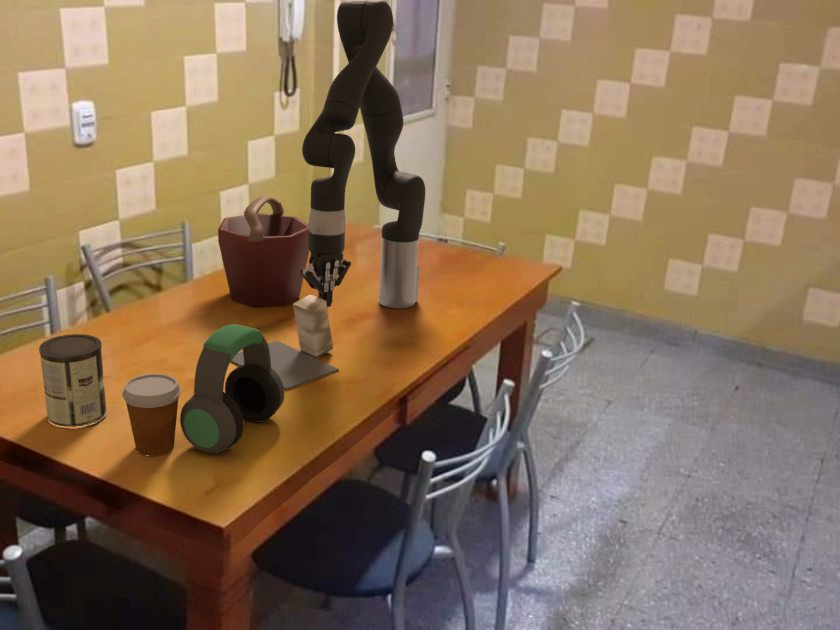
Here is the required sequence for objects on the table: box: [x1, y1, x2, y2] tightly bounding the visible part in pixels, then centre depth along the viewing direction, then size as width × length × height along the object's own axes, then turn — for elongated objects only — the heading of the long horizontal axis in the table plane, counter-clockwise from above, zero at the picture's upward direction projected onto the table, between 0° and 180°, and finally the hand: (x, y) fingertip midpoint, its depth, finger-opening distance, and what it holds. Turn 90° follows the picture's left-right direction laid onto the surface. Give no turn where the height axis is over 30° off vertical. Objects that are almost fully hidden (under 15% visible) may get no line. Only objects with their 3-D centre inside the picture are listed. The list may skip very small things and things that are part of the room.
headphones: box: [179, 323, 285, 454], centre depth 156 cm, size 19×11×20 cm, turn 156°
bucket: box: [217, 196, 310, 309], centre depth 221 cm, size 24×22×25 cm
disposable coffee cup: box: [121, 373, 182, 457], centre depth 151 cm, size 10×10×12 cm
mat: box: [230, 340, 339, 391], centre depth 187 cm, size 14×20×1 cm
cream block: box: [292, 294, 334, 359], centre depth 191 cm, size 5×5×12 cm
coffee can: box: [38, 333, 108, 427], centre depth 160 cm, size 10×10×14 cm
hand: (325, 306), depth 192 cm, fingers closed
